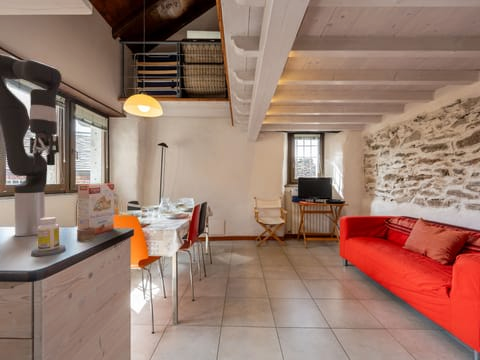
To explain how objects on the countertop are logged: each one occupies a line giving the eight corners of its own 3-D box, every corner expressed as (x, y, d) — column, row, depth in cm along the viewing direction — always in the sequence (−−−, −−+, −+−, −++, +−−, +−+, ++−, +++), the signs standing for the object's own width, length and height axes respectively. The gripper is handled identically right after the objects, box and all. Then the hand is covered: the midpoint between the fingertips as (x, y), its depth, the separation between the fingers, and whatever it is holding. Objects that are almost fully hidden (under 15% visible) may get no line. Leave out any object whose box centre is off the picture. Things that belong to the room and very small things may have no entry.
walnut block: (77, 240, 89) (77, 229, 89) (87, 237, 92) (87, 227, 92) (83, 241, 87) (83, 231, 87) (94, 239, 91) (94, 228, 91)
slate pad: (25, 253, 73) (25, 250, 73) (56, 246, 81) (56, 243, 81) (40, 258, 70) (40, 254, 70) (71, 250, 77) (71, 246, 77)
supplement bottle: (56, 245, 79) (55, 216, 79) (62, 247, 76) (61, 217, 76) (35, 249, 75) (35, 218, 75) (40, 252, 72) (40, 220, 72)
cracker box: (89, 237, 93) (89, 184, 93) (76, 236, 95) (76, 184, 94) (115, 229, 107) (114, 183, 107) (103, 228, 108) (103, 183, 108)
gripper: (20, 119, 84) (21, 165, 84) (41, 115, 78) (42, 164, 78) (45, 124, 91) (45, 165, 91) (66, 120, 85) (67, 165, 85)
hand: (44, 165), depth 85 cm, fingers open, 8 cm apart
